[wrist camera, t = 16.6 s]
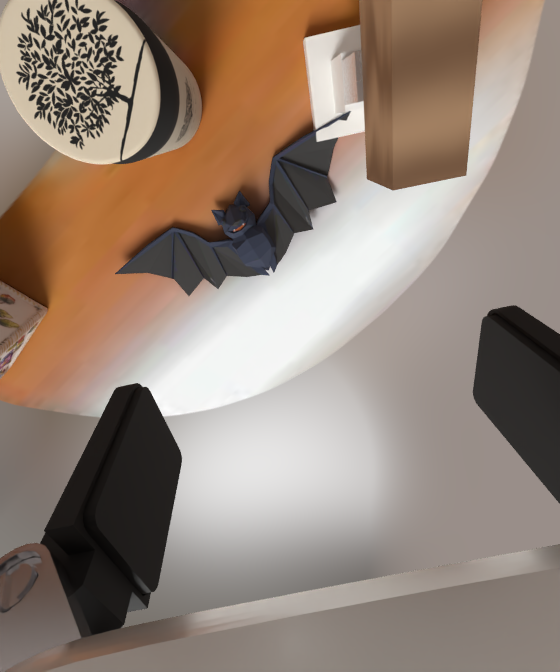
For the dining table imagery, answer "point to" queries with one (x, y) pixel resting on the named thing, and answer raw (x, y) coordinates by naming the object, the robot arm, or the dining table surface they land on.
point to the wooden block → (418, 88)
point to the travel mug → (96, 80)
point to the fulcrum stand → (335, 81)
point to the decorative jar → (16, 323)
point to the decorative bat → (248, 223)
